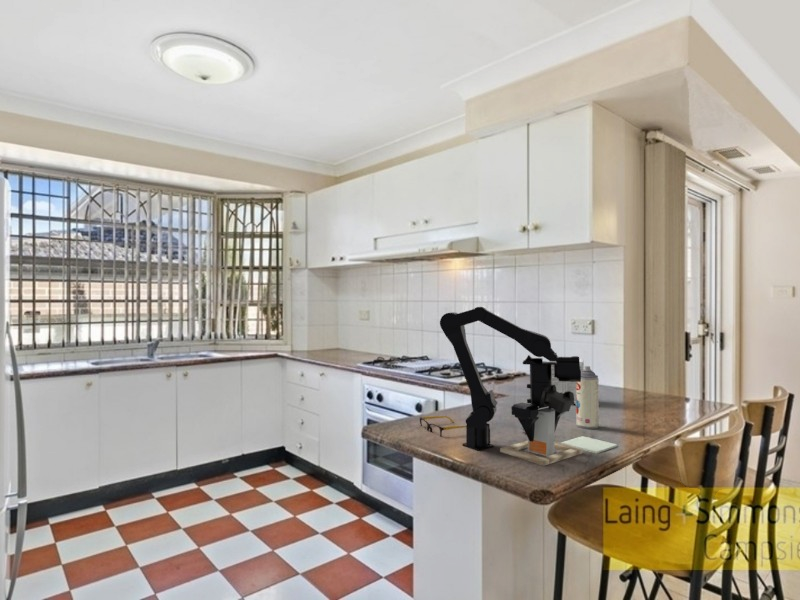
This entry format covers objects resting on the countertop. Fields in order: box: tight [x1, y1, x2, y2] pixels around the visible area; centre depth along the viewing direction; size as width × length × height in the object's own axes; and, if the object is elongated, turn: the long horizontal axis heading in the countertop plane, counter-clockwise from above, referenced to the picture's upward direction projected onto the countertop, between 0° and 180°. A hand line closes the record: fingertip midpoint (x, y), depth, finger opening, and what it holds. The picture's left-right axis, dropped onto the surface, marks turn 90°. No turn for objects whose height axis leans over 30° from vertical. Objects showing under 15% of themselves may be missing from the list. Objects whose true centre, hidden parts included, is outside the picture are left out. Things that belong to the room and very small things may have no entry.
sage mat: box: [560, 435, 618, 454], centre depth 137 cm, size 11×11×1 cm
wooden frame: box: [499, 440, 583, 466], centre depth 130 cm, size 17×14×1 cm
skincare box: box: [527, 409, 556, 457], centre depth 130 cm, size 6×4×12 cm
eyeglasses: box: [419, 415, 466, 437], centre depth 153 cm, size 14×14×4 cm
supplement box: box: [549, 358, 585, 406], centre depth 199 cm, size 13×13×18 cm
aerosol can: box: [575, 365, 600, 430], centre depth 158 cm, size 7×7×20 cm
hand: (541, 438), depth 130 cm, fingers open, 9 cm apart
